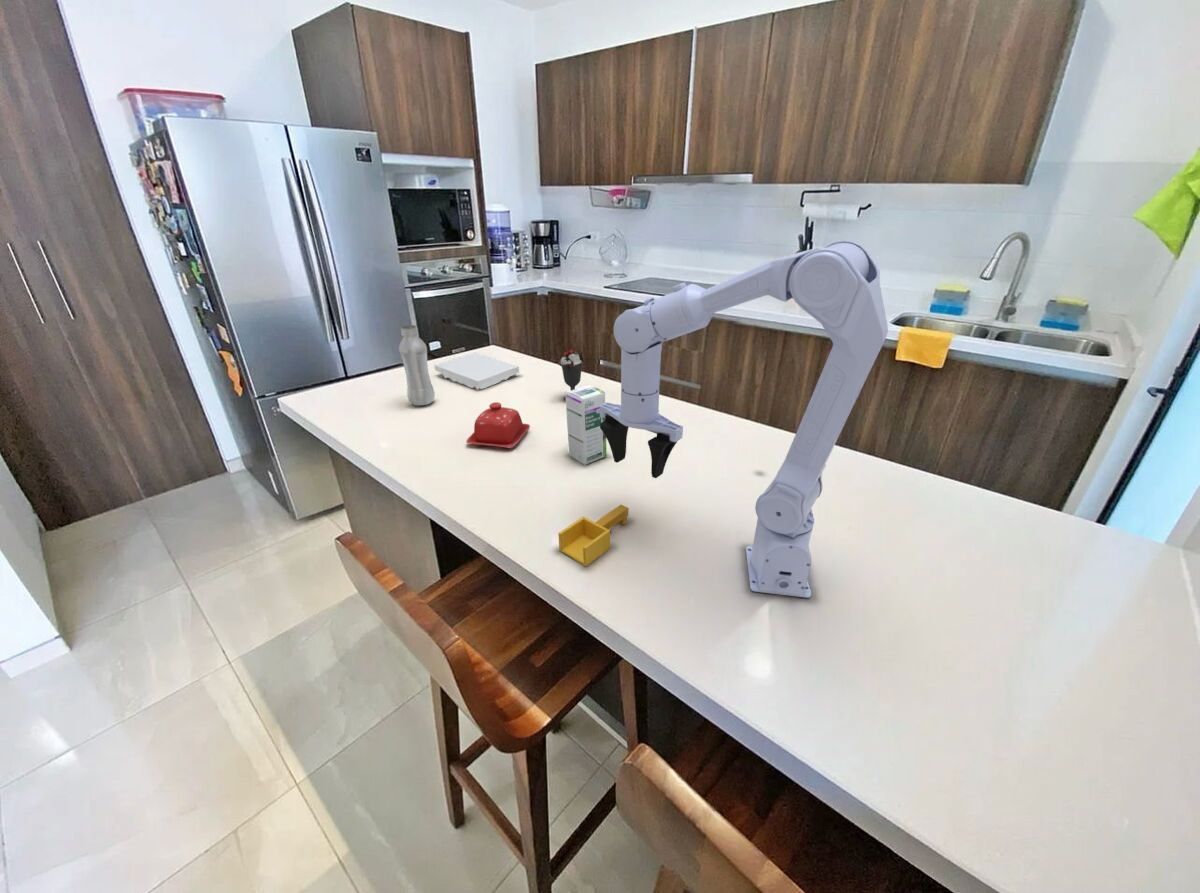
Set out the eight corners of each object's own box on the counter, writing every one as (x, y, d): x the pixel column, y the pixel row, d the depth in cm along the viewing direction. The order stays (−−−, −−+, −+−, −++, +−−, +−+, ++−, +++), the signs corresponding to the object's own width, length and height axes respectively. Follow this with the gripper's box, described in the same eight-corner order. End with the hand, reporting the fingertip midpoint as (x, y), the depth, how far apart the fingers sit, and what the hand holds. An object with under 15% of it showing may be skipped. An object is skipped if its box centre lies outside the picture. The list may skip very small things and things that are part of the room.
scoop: (585, 566, 73) (585, 548, 72) (559, 550, 77) (558, 532, 75) (637, 527, 82) (638, 510, 80) (611, 514, 85) (611, 497, 83)
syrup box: (585, 466, 100) (583, 398, 93) (567, 455, 104) (564, 390, 97) (607, 457, 103) (606, 391, 96) (589, 446, 107) (587, 383, 100)
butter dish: (463, 447, 107) (458, 411, 103) (486, 425, 117) (482, 391, 113) (513, 453, 105) (509, 416, 101) (532, 429, 115) (529, 395, 111)
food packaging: (519, 377, 147) (476, 362, 158) (518, 366, 146) (475, 352, 157) (479, 392, 137) (436, 375, 148) (478, 381, 136) (434, 365, 146)
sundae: (556, 402, 129) (553, 345, 122) (565, 393, 135) (563, 338, 128) (580, 405, 127) (578, 347, 120) (588, 395, 133) (587, 340, 126)
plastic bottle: (408, 401, 131) (392, 325, 121) (434, 397, 133) (421, 322, 124) (410, 410, 126) (394, 331, 116) (438, 405, 128) (424, 328, 119)
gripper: (696, 392, 73) (689, 472, 79) (619, 371, 81) (618, 445, 87) (669, 407, 68) (664, 490, 74) (590, 383, 76) (592, 460, 83)
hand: (638, 467), depth 81 cm, fingers open, 7 cm apart
